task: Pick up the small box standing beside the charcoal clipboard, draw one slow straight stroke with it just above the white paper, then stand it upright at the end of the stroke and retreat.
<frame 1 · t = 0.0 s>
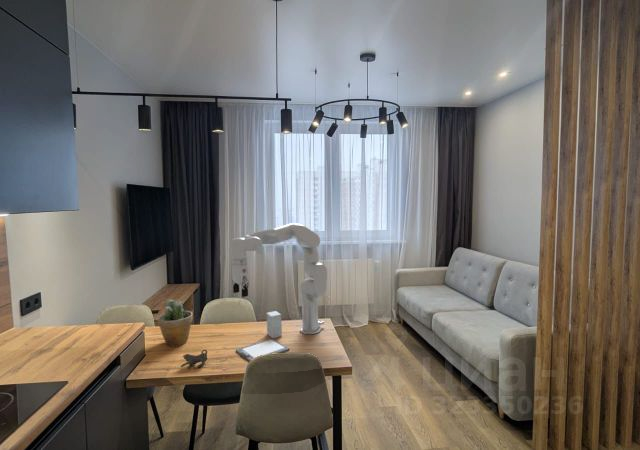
hand: (240, 294, 175), 31 cm above the table, tool pointing down, fingers open, 9 cm apart
potted plant: (176, 342, 193), on the table
small box: (274, 335, 201), on the table
dog figurine: (194, 366, 165), on the table
writing board: (262, 350, 180), on the table
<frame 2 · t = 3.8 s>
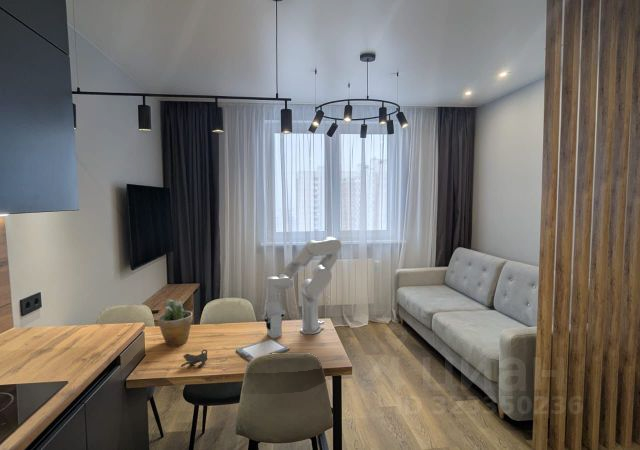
hand: (274, 327, 200), 5 cm above the table, tool pointing down, fingers closed on small box, 6 cm apart
small box: (274, 335, 201), on the table, touching gripper
everything else where it was.
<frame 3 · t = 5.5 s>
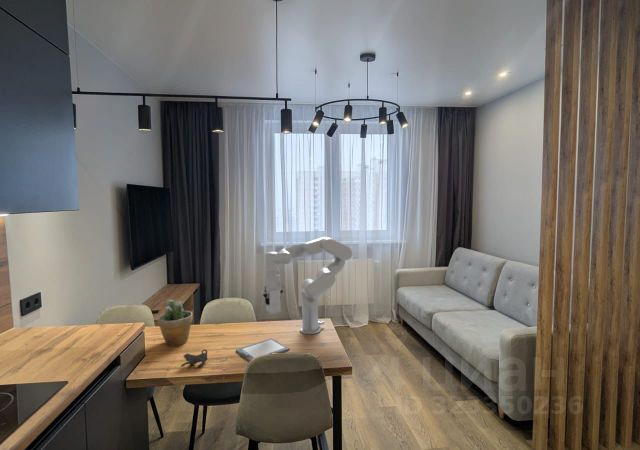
hand: (273, 302, 199), 20 cm above the table, tool pointing down, fingers closed on small box, 6 cm apart
small box: (273, 311, 199), point 15 cm above the table, touching gripper
everything else where it was.
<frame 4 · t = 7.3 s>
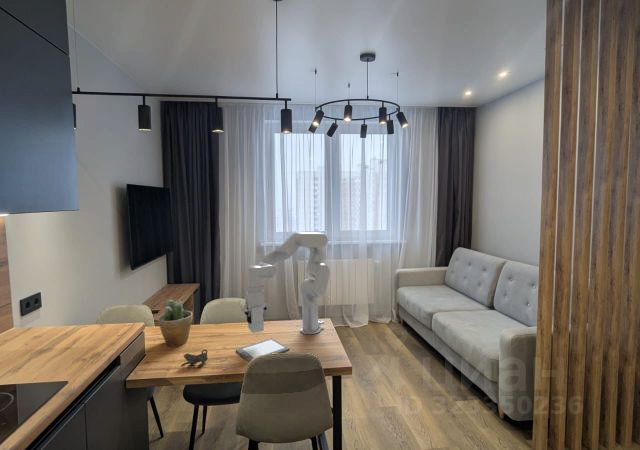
hand: (255, 320, 183), 15 cm above the table, tool pointing down, fingers closed on small box, 6 cm apart
small box: (255, 329, 183), point 10 cm above the table, touching gripper
everything else where it was.
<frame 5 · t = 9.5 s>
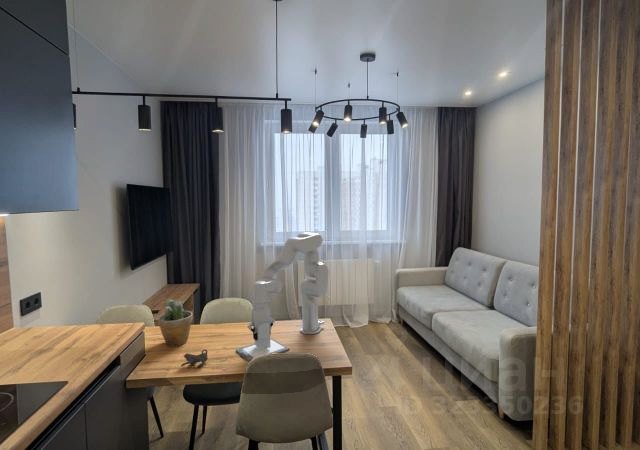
hand: (262, 337, 179), 7 cm above the table, tool pointing down, fingers closed on small box, 6 cm apart
small box: (262, 346, 180), point 2 cm above the table, touching gripper
everything else where it was.
when the fingers open (6 cm above the table, at t = 11.3 s): small box stays where it is, resting on writing board.
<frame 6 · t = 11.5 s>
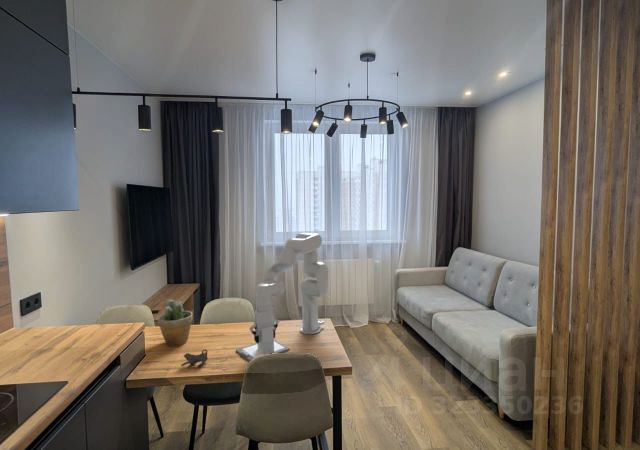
hand: (265, 339, 177), 7 cm above the table, tool pointing down, fingers open, 9 cm apart
small box: (265, 350, 177), point 1 cm above the table, touching writing board
everything else where it was.
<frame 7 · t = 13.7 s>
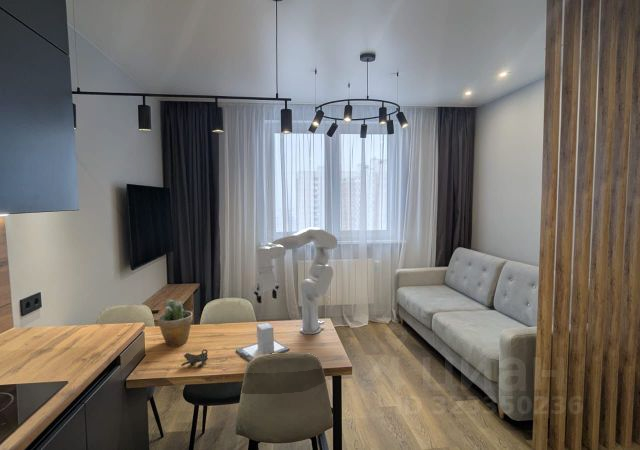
hand: (267, 300, 184), 25 cm above the table, tool pointing down, fingers open, 9 cm apart
nothing on the table moved.
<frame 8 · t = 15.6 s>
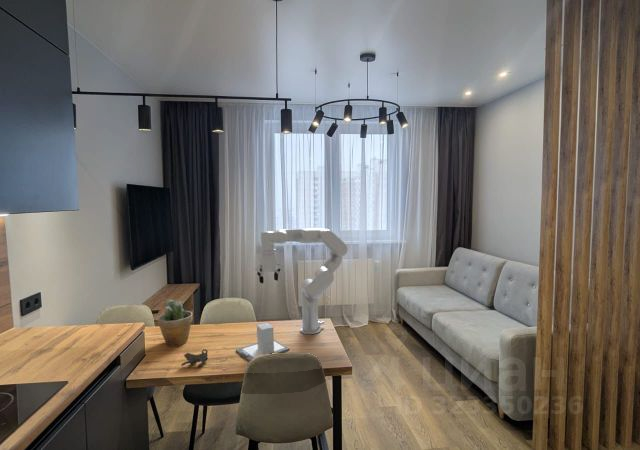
hand: (269, 281, 198), 32 cm above the table, tool pointing down, fingers open, 9 cm apart
nothing on the table moved.
at the end: small box inside the target area on the writing board (0.9 cm from its centre), point 1.0 cm above the writing board's base; small box tilted 0°; the gripper is holding nothing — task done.
